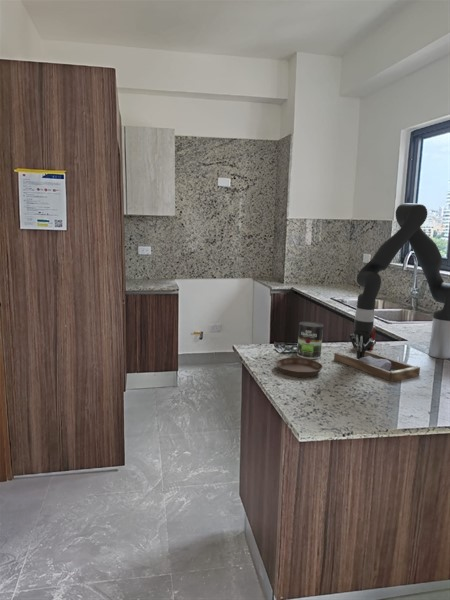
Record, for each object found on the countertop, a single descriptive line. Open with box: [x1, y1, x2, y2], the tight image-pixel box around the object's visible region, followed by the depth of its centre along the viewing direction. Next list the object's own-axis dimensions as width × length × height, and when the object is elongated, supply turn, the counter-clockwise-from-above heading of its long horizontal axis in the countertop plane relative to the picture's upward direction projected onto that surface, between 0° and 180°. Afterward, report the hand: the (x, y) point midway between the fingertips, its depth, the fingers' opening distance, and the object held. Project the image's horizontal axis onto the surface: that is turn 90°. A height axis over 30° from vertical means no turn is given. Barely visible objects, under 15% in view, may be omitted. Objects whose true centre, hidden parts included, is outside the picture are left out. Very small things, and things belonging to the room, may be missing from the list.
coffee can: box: [296, 321, 325, 360], centre depth 196 cm, size 10×10×14 cm
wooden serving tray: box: [333, 350, 421, 383], centre depth 185 cm, size 16×30×3 cm, turn 32°
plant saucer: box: [275, 357, 324, 378], centre depth 176 cm, size 18×18×3 cm
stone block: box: [358, 356, 392, 371], centre depth 184 cm, size 12×5×10 cm
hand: (360, 359), depth 192 cm, fingers closed
